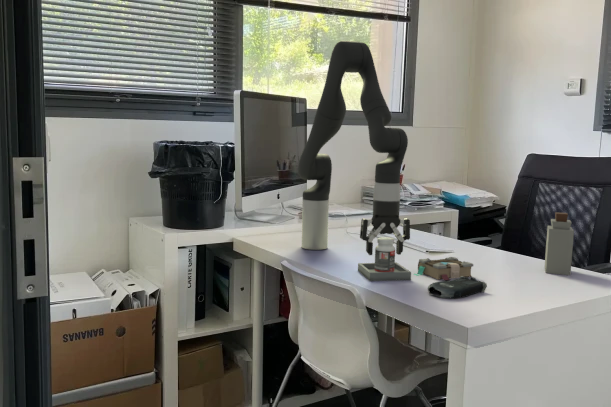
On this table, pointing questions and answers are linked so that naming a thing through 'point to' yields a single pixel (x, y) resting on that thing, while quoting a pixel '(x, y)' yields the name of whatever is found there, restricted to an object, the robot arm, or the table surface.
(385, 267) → the pill bottle
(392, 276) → the tray
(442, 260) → the cardboard box
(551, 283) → the table surface
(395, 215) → the robot arm
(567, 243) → the perfume bottle
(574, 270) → the table surface
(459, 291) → the electronic device
